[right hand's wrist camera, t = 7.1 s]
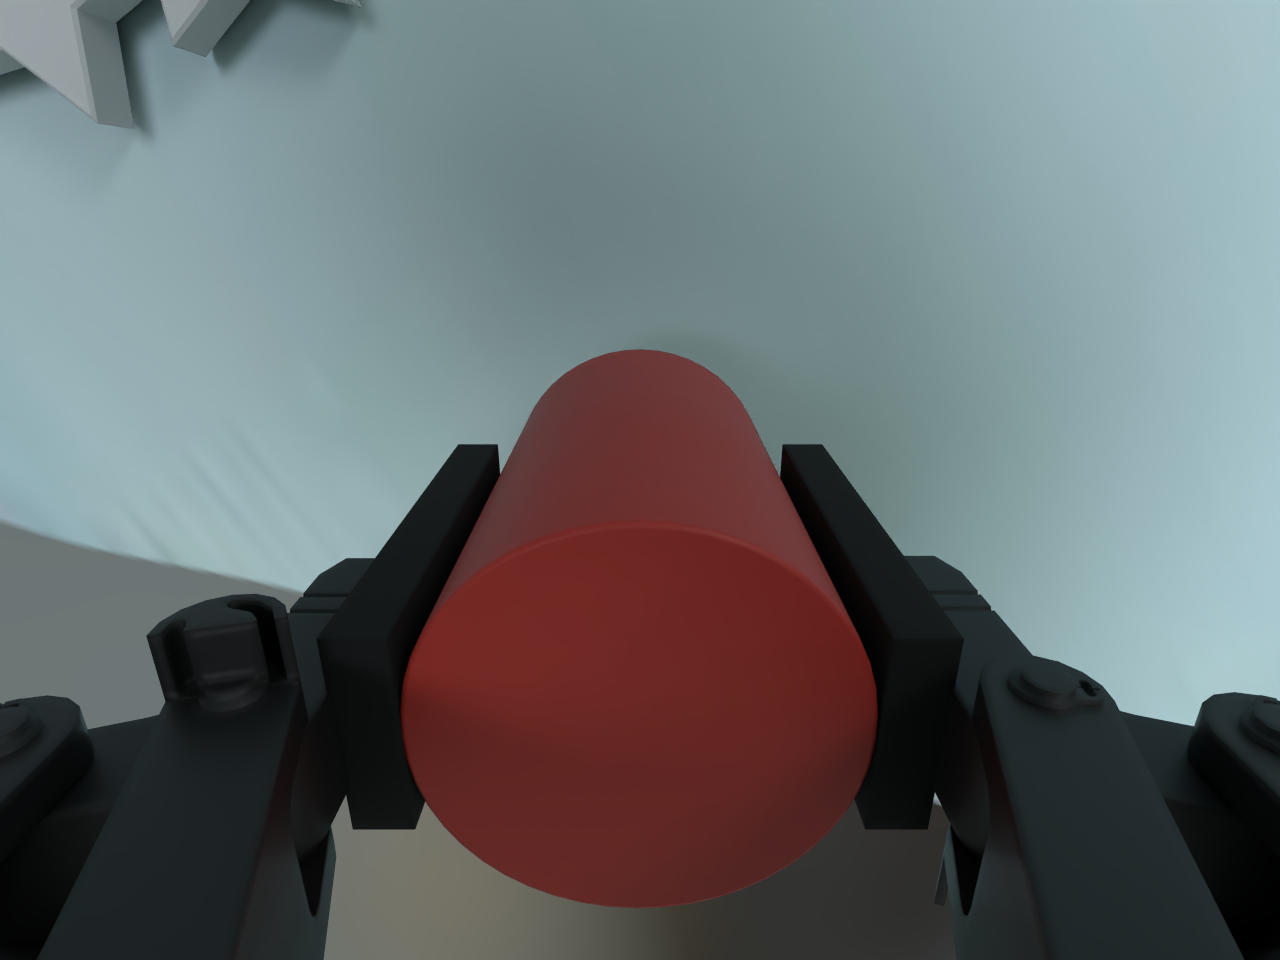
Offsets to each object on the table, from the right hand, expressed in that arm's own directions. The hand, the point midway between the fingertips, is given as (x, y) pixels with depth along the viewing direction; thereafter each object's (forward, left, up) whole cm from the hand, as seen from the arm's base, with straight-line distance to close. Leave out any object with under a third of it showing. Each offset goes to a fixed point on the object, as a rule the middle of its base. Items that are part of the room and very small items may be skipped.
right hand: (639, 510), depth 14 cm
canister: (0, 0, -2) cm, 2 cm away
